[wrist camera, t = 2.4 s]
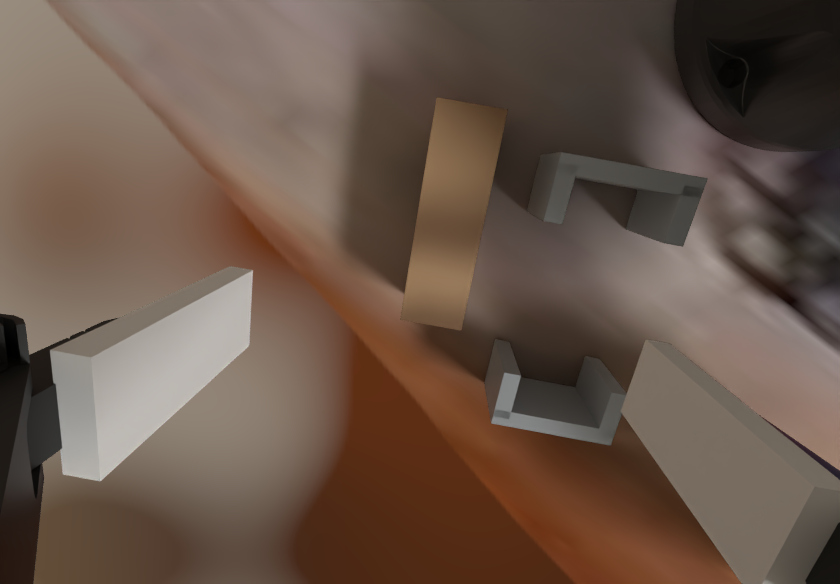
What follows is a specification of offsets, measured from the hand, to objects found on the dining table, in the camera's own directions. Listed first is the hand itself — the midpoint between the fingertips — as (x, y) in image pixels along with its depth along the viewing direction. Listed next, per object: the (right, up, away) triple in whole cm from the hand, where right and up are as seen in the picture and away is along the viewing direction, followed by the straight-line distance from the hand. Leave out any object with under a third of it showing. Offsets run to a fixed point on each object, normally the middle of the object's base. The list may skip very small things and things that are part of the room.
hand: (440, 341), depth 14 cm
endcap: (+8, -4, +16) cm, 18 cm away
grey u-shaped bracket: (+10, +8, +12) cm, 18 cm away
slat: (+1, +7, +13) cm, 15 cm away
